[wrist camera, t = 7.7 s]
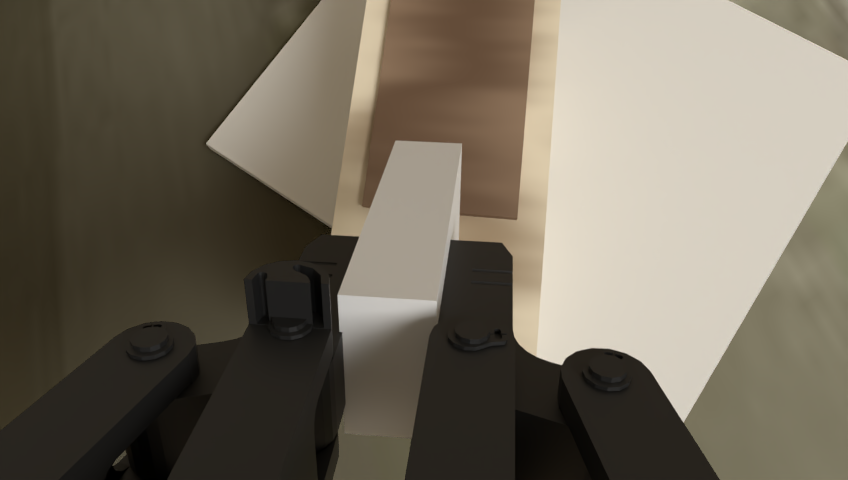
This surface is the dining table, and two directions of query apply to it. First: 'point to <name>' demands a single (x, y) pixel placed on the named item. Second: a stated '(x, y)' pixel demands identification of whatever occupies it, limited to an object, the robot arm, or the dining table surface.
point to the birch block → (462, 120)
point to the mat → (612, 165)
